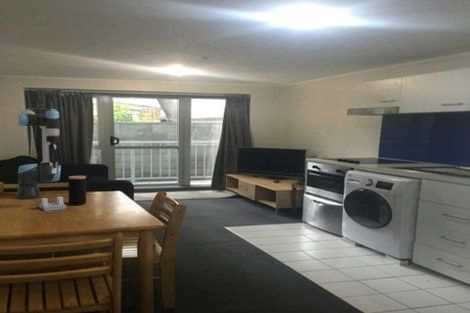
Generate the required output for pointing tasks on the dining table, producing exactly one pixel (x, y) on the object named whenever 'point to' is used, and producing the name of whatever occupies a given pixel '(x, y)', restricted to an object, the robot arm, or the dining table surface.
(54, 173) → the dark gray block
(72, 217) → the dining table surface
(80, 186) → the coffee jar
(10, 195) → the dining table surface
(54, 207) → the board
